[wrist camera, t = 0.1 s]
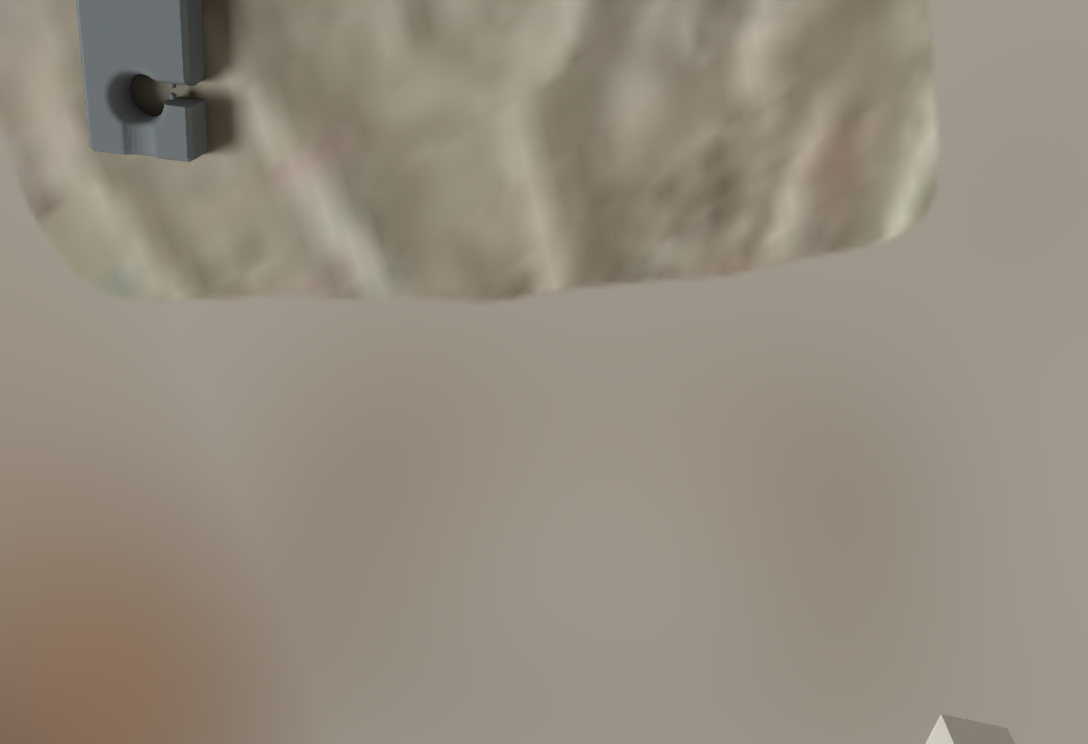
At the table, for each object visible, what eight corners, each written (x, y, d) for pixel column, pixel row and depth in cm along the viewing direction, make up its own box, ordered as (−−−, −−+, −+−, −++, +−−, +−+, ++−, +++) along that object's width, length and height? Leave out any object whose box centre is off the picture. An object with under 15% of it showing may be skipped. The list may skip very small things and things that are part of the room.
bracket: (200, -154, 33) (177, -159, 31) (213, 153, 37) (193, 164, 36) (86, -167, 33) (56, -172, 31) (111, 141, 37) (86, 152, 36)
